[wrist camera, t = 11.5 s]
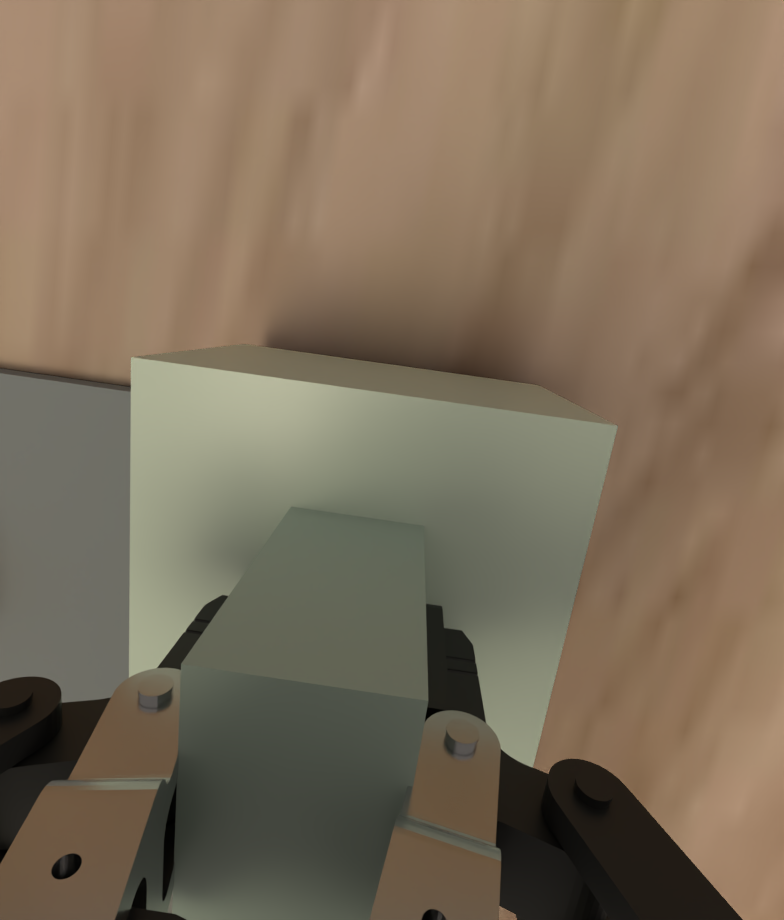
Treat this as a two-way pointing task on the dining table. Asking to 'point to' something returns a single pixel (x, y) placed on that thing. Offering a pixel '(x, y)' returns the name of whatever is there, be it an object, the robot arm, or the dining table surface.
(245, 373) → the sage cover
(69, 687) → the grey mat
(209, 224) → the dining table surface
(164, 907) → the robot arm
